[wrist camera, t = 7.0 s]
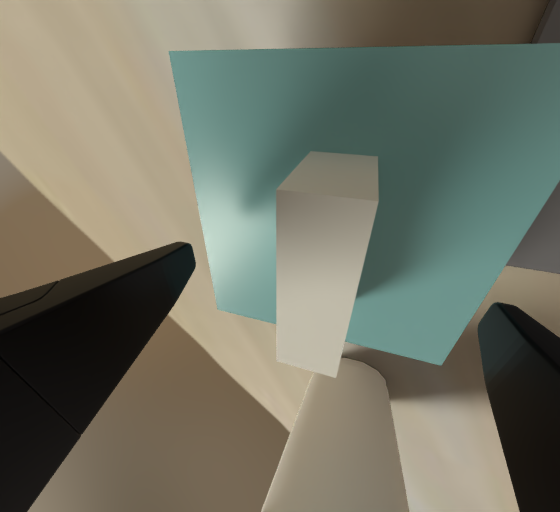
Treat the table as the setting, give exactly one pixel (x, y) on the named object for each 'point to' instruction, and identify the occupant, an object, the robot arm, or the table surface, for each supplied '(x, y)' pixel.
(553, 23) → the mat
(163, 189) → the table surface
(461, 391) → the table surface
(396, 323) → the cover plate
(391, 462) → the foam cup
